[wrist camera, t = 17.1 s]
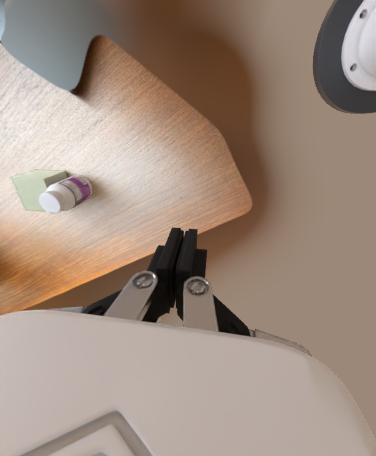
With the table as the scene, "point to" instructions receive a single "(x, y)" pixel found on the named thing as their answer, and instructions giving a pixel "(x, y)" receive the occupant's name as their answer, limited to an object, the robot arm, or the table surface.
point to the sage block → (35, 186)
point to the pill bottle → (65, 194)
